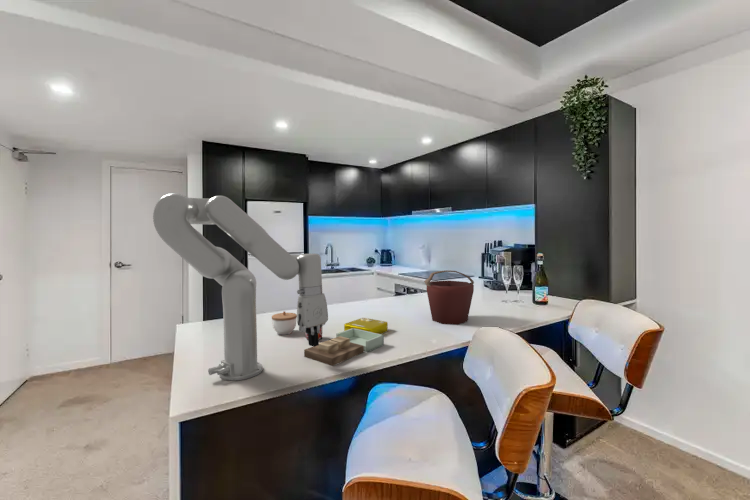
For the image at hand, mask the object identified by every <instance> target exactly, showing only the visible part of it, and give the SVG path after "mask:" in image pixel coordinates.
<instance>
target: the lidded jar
mask: <svg viewBox="0 0 750 500" xmlns="http://www.w3.org/2000/svg"><path fill="white" fill-rule="evenodd" d="M271 324H272V328H273V329H274V331H275V332H276V333H277V335H281V336H282V335H290V334H292V332H293V331H294V330H295V328H296V327H297V313H294V312H286V311H283V312H279V313H275V314H273V315H271Z"/></svg>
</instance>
